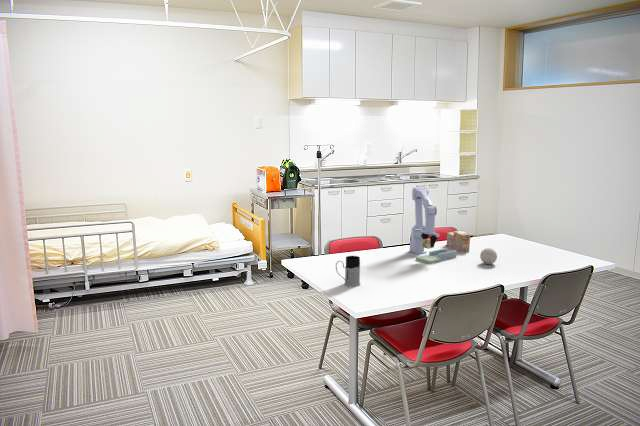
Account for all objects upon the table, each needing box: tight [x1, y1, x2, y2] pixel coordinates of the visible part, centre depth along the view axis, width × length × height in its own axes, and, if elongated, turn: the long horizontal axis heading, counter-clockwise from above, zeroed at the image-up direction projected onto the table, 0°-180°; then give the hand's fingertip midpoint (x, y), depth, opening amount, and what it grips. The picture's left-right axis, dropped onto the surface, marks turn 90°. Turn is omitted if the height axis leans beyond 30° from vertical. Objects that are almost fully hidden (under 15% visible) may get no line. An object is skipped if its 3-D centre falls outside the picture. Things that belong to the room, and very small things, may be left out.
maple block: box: [422, 238, 435, 249], centre depth 328 cm, size 5×5×5 cm
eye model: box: [479, 247, 498, 265], centre depth 324 cm, size 10×10×10 cm
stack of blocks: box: [446, 230, 471, 253], centre depth 364 cm, size 21×6×12 cm, turn 14°
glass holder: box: [335, 255, 361, 288], centre depth 280 cm, size 9×14×15 cm, turn 110°
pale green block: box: [415, 247, 457, 265], centre depth 335 cm, size 12×27×4 cm, turn 126°
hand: (428, 246), depth 329 cm, fingers closed on maple block, 5 cm apart
